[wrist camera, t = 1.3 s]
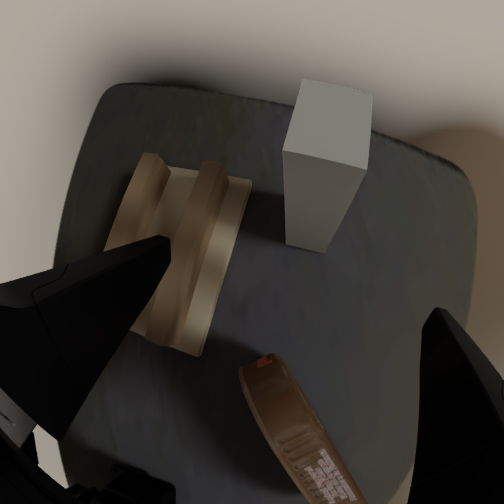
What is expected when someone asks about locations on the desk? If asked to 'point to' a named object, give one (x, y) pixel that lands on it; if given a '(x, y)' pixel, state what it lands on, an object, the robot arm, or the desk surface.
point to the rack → (182, 243)
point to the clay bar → (324, 160)
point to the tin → (296, 433)
